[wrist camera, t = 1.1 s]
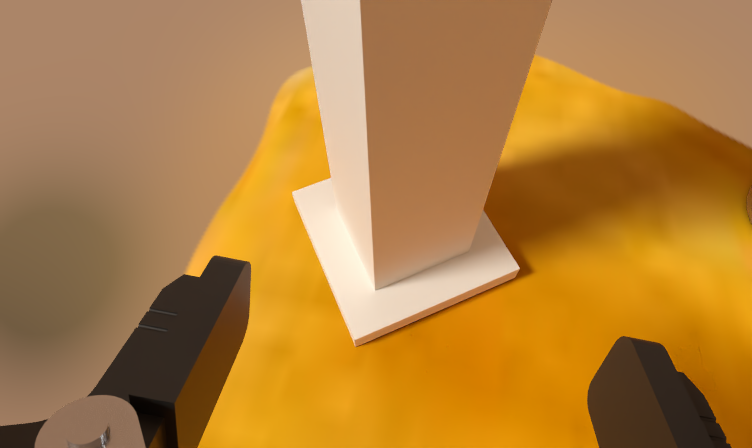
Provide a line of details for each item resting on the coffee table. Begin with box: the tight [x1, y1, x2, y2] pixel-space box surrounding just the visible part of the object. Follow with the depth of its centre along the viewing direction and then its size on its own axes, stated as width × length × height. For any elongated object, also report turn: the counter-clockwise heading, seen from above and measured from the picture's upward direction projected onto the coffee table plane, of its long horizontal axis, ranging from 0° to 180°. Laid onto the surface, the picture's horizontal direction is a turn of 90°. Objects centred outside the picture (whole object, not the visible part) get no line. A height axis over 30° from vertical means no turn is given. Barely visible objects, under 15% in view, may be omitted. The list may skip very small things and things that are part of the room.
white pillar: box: [292, 0, 552, 347], centre depth 23 cm, size 12×12×32 cm
